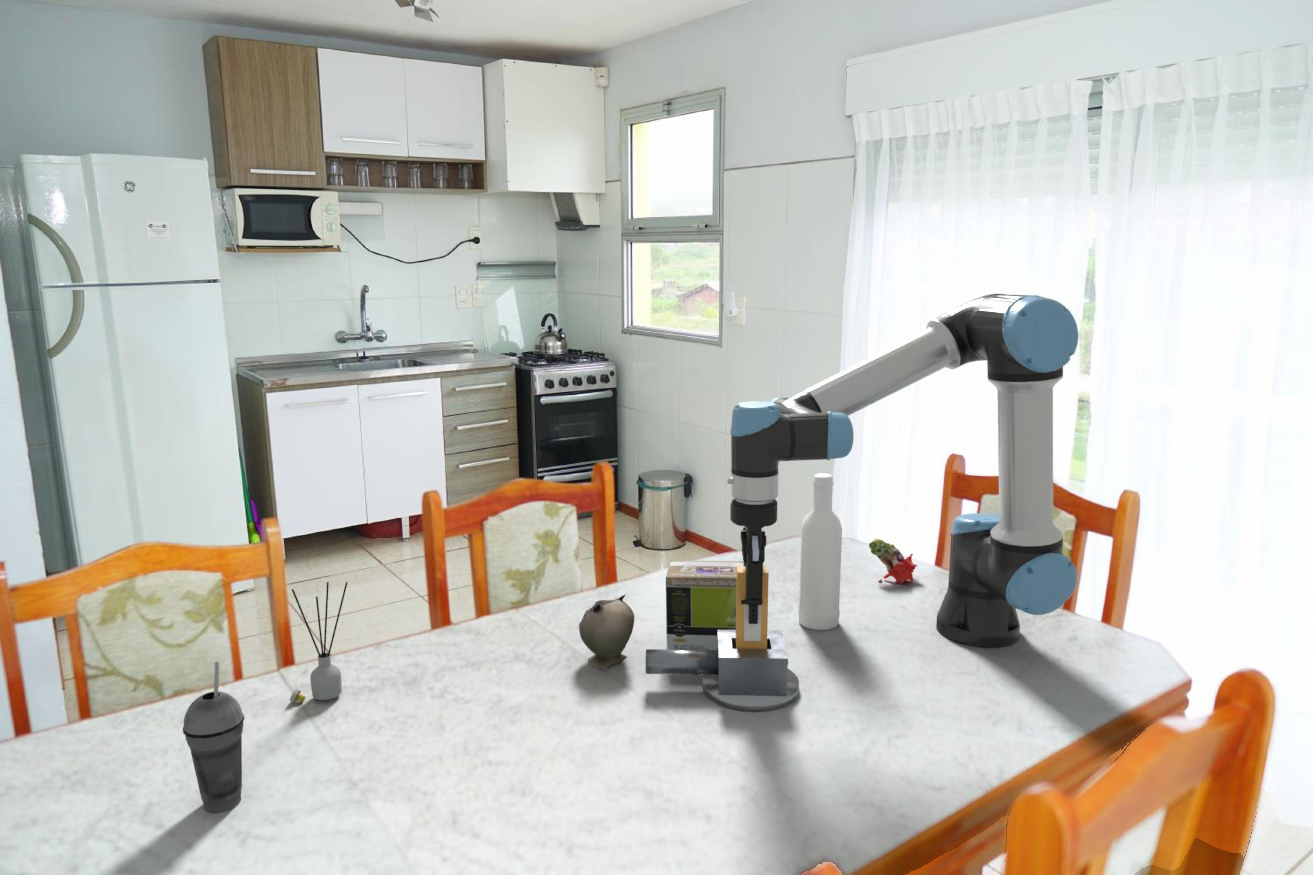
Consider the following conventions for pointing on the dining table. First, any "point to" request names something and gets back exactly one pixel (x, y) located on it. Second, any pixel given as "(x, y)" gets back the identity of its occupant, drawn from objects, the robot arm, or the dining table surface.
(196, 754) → the beverage cup
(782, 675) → the bracket head
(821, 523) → the bottle
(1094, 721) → the dining table surface
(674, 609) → the tea box
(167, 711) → the dining table surface
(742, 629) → the tan wooden beam
